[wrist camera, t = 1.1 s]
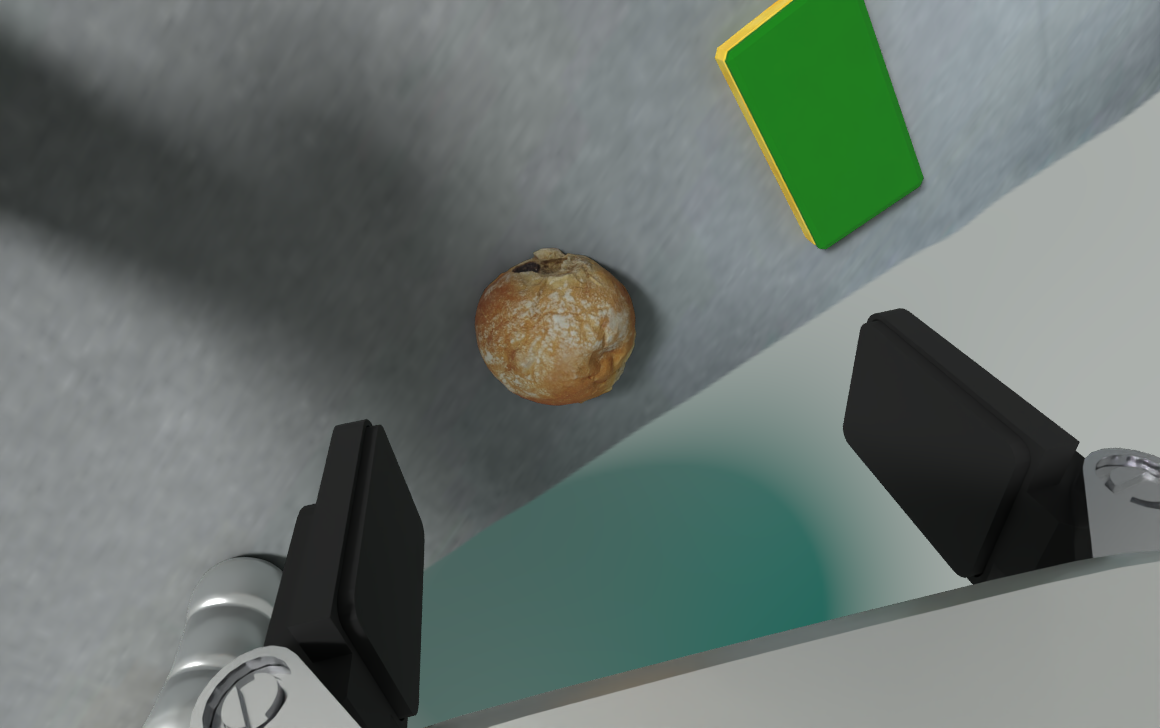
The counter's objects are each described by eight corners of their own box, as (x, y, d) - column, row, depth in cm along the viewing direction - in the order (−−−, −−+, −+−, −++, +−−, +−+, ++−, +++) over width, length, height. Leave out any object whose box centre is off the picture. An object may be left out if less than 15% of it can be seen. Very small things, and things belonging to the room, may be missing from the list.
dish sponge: (803, 238, 40) (822, 253, 38) (708, 50, 32) (724, 56, 30) (902, 171, 38) (926, 183, 36) (825, -42, 31) (851, -42, 29)
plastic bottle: (261, 609, 50) (166, 924, 34) (184, 575, 46) (36, 909, 30) (313, 570, 49) (241, 880, 32) (238, 532, 45) (113, 860, 29)
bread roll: (598, 226, 40) (602, 219, 32) (655, 364, 42) (672, 389, 34) (465, 284, 41) (437, 292, 33) (526, 418, 43) (514, 455, 35)
